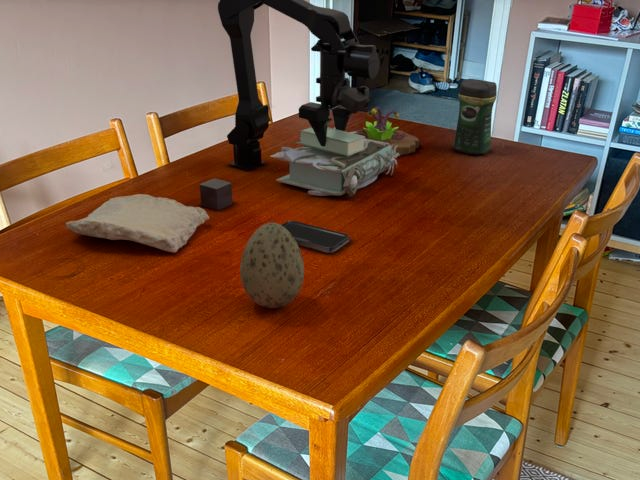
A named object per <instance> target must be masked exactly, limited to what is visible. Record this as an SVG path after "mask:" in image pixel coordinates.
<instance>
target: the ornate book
mask: <svg viewBox="0 0 640 480" xmlns="http://www.w3.org/2000/svg"><path fill="white" fill-rule="evenodd" d="M333 129H335V126H334V127H333ZM349 133H357V132H355V131H354V132H353V131H350V132H349ZM298 140H300V141H296V142H294V144H296V145H302V144H301V137H300V138H298ZM392 145H393V144H392ZM397 146H398V145H396V146H395V148H394V150H393V149H392V146H391V145H390V144H388V143H385V142H380V141H375V140H370V139H365V138H364V149H365V150H363V151H360V152H358V153H355V154H352V155H350V156H344V155H340V154H336V153H333V152H329V151H325V150H321V149H318V148H314V147H310V146H306V145H303V146H300V147H296V148H292V147H289V146H288V147H287V146H281V151H278V152H276V153H274V154H272V155H270V157H271V158H275V160H279V161H284V162H287V163H289V164H288V165H289V166H288V167H289V173H288V174H286V175H283V176H281V177H279V178H276V179H275V180H276V182H278V183H281V184H286V185H291V186H295V187H299V188H302V189H307V194H308V195H311V196H317V197H318V196H320V197H326V196H327V197H328V196H342V195H346V194H347V195H349V197H350V198H352V197H354V196H355V194H356V192H357V191H358V189H361V188H364V187H367V186H368V185H370V184H372V183H374V182H375V181H376V180H377V179H378V177H379V175H380V174H382V173H384V172H385V171H387V172H386V173H385V175H388V174H389V173H390V171H391V174H390V176H392V175H393V173H394V167H395V168H396V169H398V161H397V158H398V157H401V155H399V153H396V147H397ZM395 153H396V154H395ZM394 154H395V155H394Z"/></svg>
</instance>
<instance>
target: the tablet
mask: <svg viewBox="0 0 640 480" xmlns="http://www.w3.org/2000/svg"><path fill="white" fill-rule="evenodd" d="M207 220H210V215H208V213H207V211H206V210H205V209H204V208H202V207H199V206H186V205H185V204H183V203H181V202H178V201H177V200H175V199H170V198H168V197H155V196H154V195H153V196H152V195H150V194H143V193H138V194H133V195H124V196H123V195H122V196H117V197H111V198H109V200H108V201H105V202H103V203H102V204H101V205H100V206H99V207H97V208H96V209H94V210H93V211H92V212H90V213H89V214H88V215H87V216H86V217H84V218H81V219H78V220H72V221H67V222H66V223H65V226H66V229H67V230H70V231H71V232H73V233H75V234H79V235H81V236H87V237H94V238H100V239H107V240H111V241H117V240H118V241H119V240H120V241H122V240H123V241H124V240H125V241H131V242H135V243H139V244H142V245H146V246H148V247H152V248H156V249H159V250H161V251H163V252H164V251H165V252H169V253H173V254H175V253H177V252H178V250H179V249H182V248H183V246H185V245H187V242H188V240H189V239H190V238H191V237H192V236H193V235H194V234H195V232H196V230H197V227H199V226H201V225H203V224H204V223H205V222H206V221H207Z"/></svg>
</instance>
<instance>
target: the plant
mask: <svg viewBox="0 0 640 480" xmlns="http://www.w3.org/2000/svg"><path fill="white" fill-rule="evenodd" d="M377 112H378V114H377ZM391 114H394V118H396V119H398V118H399V117H400V114H399V112H398V111H395V110H390V111H388V112H387V113H386V114H385V116H384V117H383V113H382V109H381V108H380V107H379V106H375V107H373V108H372V109H371V110H369V111H368V112H367V117H369V118H371V117H372V116H374V118H375V119H376V120H375V121H373V123H372V122H370V121H365V126H366V128H365V127H362V129H360V128H357V129H356V130H354V131H352V132H357V133H354V134H358V135H362V136H365V139H370V140H375V141H380V142H385V143H388V144H390V145H391V146H392V149H393V150H394V148H395V146H396V145H398V146H397V147H396V153H399V155H400V156H404V155H405V156H407V155H410V154H412V153H415V152H416V149H419V147H420V140H419V138H418V137H416V136H414V135H411V134H409V133H407V132H404V131H403V130H398V129H399V128H400V127H399V126H395V127H394V126H393V127H392V124H393V122H390V121H389V120H388V119H389V116H390V115H391ZM392 144H393V145H392ZM396 153H395V154H396ZM395 154H394V155H395Z"/></svg>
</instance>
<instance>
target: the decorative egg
mask: <svg viewBox="0 0 640 480" xmlns="http://www.w3.org/2000/svg"><path fill="white" fill-rule="evenodd" d="M281 225H282V224H279V223H277V222H266V223H264V224H263V225H261V226H258V228H257V229H256V230H255V231H254V232H253V233H252V235H251V236H250V237H249V239H248V241H247V242H246V244H245V247H244V249H243V251H242V255H241V259H240V266H239V267H240V268H239V274H240V281H241V285H242V287H243V290H244V291H245V293H246V295H247V296H248V297H249V298H250V299H251V300H252V302H254V303H255V304H257V305H258V306H261V307H263V308H267V309H277V308H281V307H285V306H286V305H288V304H290V303H291V302H292V301H294V299H295V298H296V297H297V296H298V294H299V293H300V290H301V289H302V287H303V283H304V280H305V279H304V278H305V264H304V259H303V255H302V252H301V249H300V247H299V246H300V245H298V244H297V242H296V241H295V239H294V238H293V236H292V235H291V234H290V232H289V231H288V230H287V229H286V228H284V227H283V226H281Z"/></svg>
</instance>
